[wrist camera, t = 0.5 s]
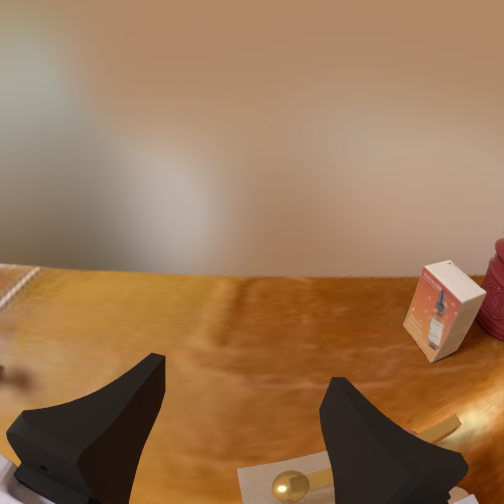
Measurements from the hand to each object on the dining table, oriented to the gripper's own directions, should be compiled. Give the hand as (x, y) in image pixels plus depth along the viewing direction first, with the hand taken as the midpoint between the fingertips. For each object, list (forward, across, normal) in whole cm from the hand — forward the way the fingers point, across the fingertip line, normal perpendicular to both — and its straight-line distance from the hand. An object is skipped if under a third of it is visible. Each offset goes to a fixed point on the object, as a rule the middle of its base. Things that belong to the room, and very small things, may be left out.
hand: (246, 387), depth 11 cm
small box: (+21, -27, +8) cm, 35 cm away
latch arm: (+2, -11, +9) cm, 14 cm away
